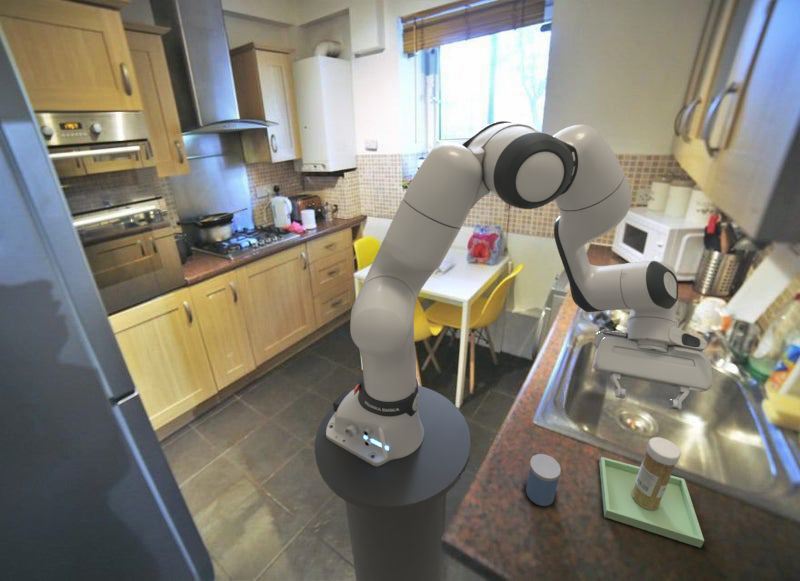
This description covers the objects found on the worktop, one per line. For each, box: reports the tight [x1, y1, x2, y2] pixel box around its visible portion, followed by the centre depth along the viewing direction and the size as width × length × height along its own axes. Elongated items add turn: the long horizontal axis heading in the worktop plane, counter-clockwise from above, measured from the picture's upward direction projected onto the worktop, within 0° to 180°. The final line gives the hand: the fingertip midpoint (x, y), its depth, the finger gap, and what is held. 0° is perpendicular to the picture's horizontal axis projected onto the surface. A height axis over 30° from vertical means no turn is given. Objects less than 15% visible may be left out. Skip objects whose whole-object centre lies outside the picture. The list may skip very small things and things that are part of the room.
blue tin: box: [525, 453, 562, 507], centre depth 68 cm, size 5×5×8 cm
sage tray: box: [598, 456, 705, 549], centre depth 67 cm, size 14×12×2 cm
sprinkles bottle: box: [631, 436, 681, 510], centre depth 65 cm, size 5×5×14 cm
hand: (647, 403), depth 73 cm, fingers open, 8 cm apart
